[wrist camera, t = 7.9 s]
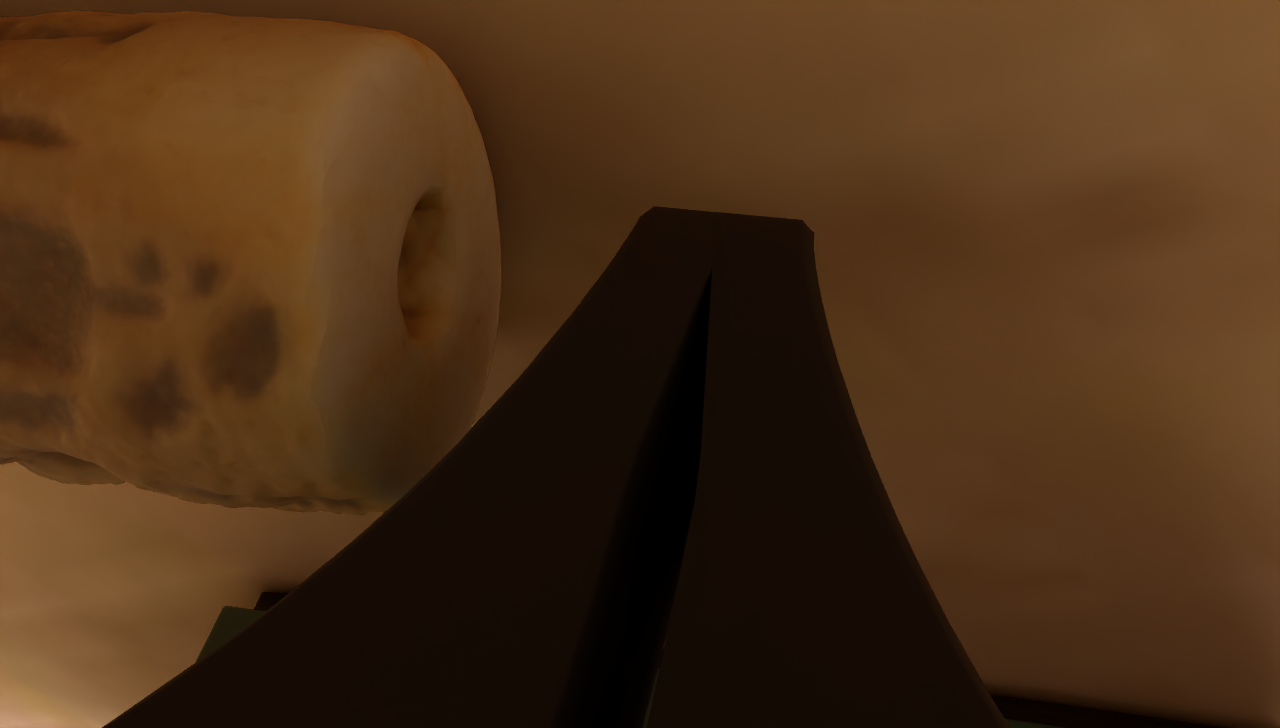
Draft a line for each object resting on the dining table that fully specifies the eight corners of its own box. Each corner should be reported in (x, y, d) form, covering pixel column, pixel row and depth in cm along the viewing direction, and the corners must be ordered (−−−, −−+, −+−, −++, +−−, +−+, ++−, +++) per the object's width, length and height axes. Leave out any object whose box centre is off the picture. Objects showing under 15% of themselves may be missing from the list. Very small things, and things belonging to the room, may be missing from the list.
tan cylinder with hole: (-123, 288, 14) (-387, 564, 11) (-379, -50, 11) (-827, 209, 8) (544, 304, 12) (435, 633, 9) (454, -88, 9) (256, 218, 6)
